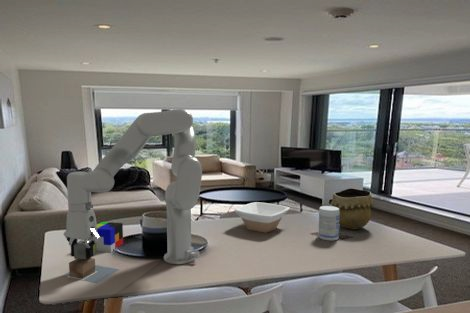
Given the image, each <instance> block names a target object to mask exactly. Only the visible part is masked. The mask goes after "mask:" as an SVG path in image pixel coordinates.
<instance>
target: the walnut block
mask: <svg viewBox="0 0 470 313" xmlns="http://www.w3.org/2000/svg"><path fill="white" fill-rule="evenodd" d="M95 265H96V258H93V257H91V258H89V259H74V260H72V261H69V262H68V272H69V275H70V277H76V278H81V279H84V278H86V277H87V276H89V275H91V274H93V273H94V272H95Z"/></svg>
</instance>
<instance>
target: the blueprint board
mask: <svg viewBox="0 0 470 313" xmlns="http://www.w3.org/2000/svg"><path fill="white" fill-rule="evenodd" d="M120 269H121V268H115V267H109V266H103V265H97V264H95V272H94V273H93V274H91V275H89V276H87V277H86V278H84V279H81V278H76V277H70V275H69V271H68V272H66V273H65V274H62V275H60V277H62V278H68V279H72V280H77V281H82V282H88V283H93V284H99V283H100V282H102V281H103V280H105V279H107V278H108V277H110V276H112V275H114V274H115V273H117V272H118V271H120Z"/></svg>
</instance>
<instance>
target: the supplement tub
mask: <svg viewBox="0 0 470 313" xmlns="http://www.w3.org/2000/svg"><path fill="white" fill-rule="evenodd" d="M318 238H319V239H321V240H322V241H332V242H333V241H337V240H339V238H340V224H339V208H337V207H334V206H332V205H323V206H320V207H319V210H318Z"/></svg>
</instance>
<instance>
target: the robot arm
mask: <svg viewBox="0 0 470 313" xmlns="http://www.w3.org/2000/svg"><path fill="white" fill-rule="evenodd" d="M193 124H194V118H193V115H192V113H191V112H190V111H189V110H187V109H185V108H178V109H177V108H176V109H175V108H174V109H170V110H163V111H155V112H143V113H141V114H139V115H138V116H137V117H136V118H135V120H133V122H132V123H131V124H130V125H129V127H128V128H127V129H126V131H125V132H124V133H123V135H121V137H120V138H119V140H118V141H117V142H116V143H115V144H114V145H113V146H112V147H111V149H110V150H109V151H108V152H107V153H106V154H105V155H104V157H103V158H102V159H101V160H100V161H99V163H98V164H96V165H95V167H94V169H93V170H92V172H91V173H90V172H87V171H74V172H69V173H68V175H67V176H66V187H67V188H66V189H67V207H68V208H67V209H68V210H67V214H66V225H65V228H66V230H65V231H64V233H63V236H64V237H65V239H66V240H67V241H68V245H69V246H70V256H71V257H72V258H74V245H75V244H76V243H78V242H79V241H80V240H84V241H85V243H86V246H87V248H85V253H86V259H89V258H93V257H94V255H95V254H94V252H95V251H94V252H93V246H94V245H95V244H96V242H97V241H98V240H99V239H100V237H99V235H98V234H97V224H98V223H97V218H96V213H95V211H94V205H93V203H92V193H107V192H109V191H111V190H112V189H113V188H114V185H115V179H114V177H115V175H116V174H117V173H118V172H119V171H120V170H121V168H123V166H125V165H126V164H127V163H128V162H130V161H132V160H134V159H135V158H136V157H137V156H138V155H139V154H140V153H141V151H142V150H143V148H145V146H146V145H147V143H149V141H150V140H151V139H152V137H159V136H166V135H172V136H173V138H174V145H173V153H172V161H171V166H170V168H171V173H172V174H173V176H175V177H176V181H172V182H170V183H169V184H168V185H167V186H166V189H165V192H164V197H165V205H166V237H167V238H166V239H167V240H166V242H167V245H166V246H167V249H166V250H167V252H166V253H164V256H163V261H164V262H165V263H167V264H170V265H185V264H189V263H191V262H193V261H194V260H195V259H199V258H200V257H201V255H200V251H199V250H194V249H195V248H194V246H192V210H191V209H193V208H194V207H195V206H196V205H197V203H198V201H199V197H200V191H201V184H202V176H203V167H202V164H201V162H200V160H198V158H196V150H197V149H196V148H197V136H196V132H195V130H194V127H193ZM93 237H94V239H93ZM88 240H90V243H89V241H88Z"/></svg>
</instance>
